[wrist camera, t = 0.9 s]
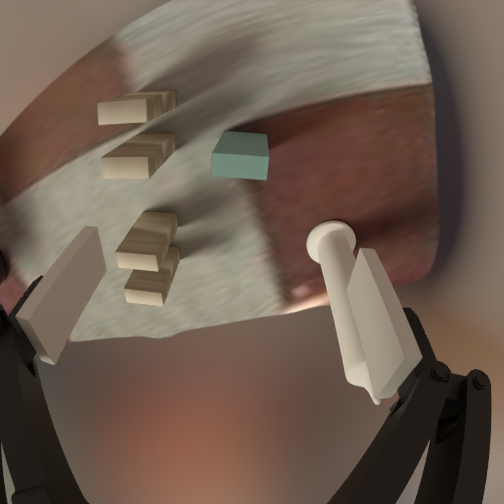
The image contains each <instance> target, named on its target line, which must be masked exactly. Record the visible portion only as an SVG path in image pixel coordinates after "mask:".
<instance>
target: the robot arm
mask: <svg viewBox="0 0 504 504" xmlns="http://www.w3.org/2000/svg"><path fill="white" fill-rule="evenodd" d="M106 271H107V268H106V264H105V260H104V255H103V251H102V246H101V242H100V237H99V232H98V227H91V226H85V227H84V228H83V229H82V231H81V232H80V233H79V234H78V235H77V236H76V237H75V239H74V240H73V241H72V242H71V243H70V244H69V246H68V247H67V248H66V249H65V250H64V252H63V253H62V254H61V255H60V257H59V258H58V259H57V260H56V261H55V263H54V264H53V265H52V266H51V268H50V269H49V270H48V272H47V273H46V274H45V275H44V276H40V277H39V278H37V279H36V280H35V281H33V282H32V284H31V285H30V286H29V288H28V289H27V291H26V292H25V293H24V295H23V297H21V299H20V300H19V301H18V303H17V304H16V306H15V307H14V309H13V310H12V311H11V313H10V314H9V316H8V315H7V313H6V312H5V310H4V308H3V306H2V305H1V304H0V504H7V498H6V491H5V484H4V477H3V468H2V454H1V442H2V446H3V450H4V454H5V458H6V461H7V465H8V468H9V471H10V474H11V477H12V481H13V483H14V487H15V493H14V494H13V495H12V497H11V501H12V504H89V503H88V502H87V501H86V499H85V498H84V496H83V494H82V492H81V490H80V489H79V486H78V484H77V482H76V480H75V478H74V476H73V474H72V471H71V469H70V467H69V464H68V462H67V460H66V457H65V455H64V452H63V450H62V447H61V445H60V442H59V439H58V437H57V434H56V431H55V428H54V425H53V422H52V419H51V416H50V413H49V410H48V407H47V403H46V400H45V396H44V393H43V389H42V385H41V382H40V377H39V373H38V369H37V364H36V362H35V360H34V356H35V354H36V353H37V354H38V356H39V357H40V359H41V360H42V361H44V362H47V363H50V364H53V365H55V363H56V361H57V359H58V357H59V355H60V353H61V351H62V349H63V347H64V345H65V343H66V342H67V340H68V338H69V336H70V334H71V332H72V330H73V328H74V326H75V324H76V323H77V321H78V319H79V317H80V315H81V313H82V312H83V310H84V308H85V306H86V305H87V303H88V301H89V299H90V298H91V296H92V294H93V293H94V291H95V289H96V287H97V286H98V284H99V282H100V281H101V279H102V277H103V276H104V274H105V273H106ZM5 278H6V266H5V262H4V259H3V257H2V255H1V253H0V285H1V283H2V282H3V281H4V280H5ZM346 292H347V295H348V299H349V302H350V305H351V309H352V312H353V316H354V319H355V323H356V326H357V330H358V334H359V337H360V341H361V345H362V349H363V353H364V357H365V361H366V365H367V369H368V373H369V377H370V381H371V385H372V390H373V394H374V399H382V398H391V397H392V396H393V395H394V393H395V392H396V391H397V390H398V394H399V399H398V400H397V401H396V402H395V404H394V405H393V406H392V407H391V408H390V409H389V411H391V412H390V413H389V415H388V417H387V419H386V421H385V422H384V424H383V425H382V427H381V429H380V430H379V432H378V434H377V435H376V437H375V438H374V440H373V441H372V443H371V445H370V446H369V448H368V449H367V451H366V452H365V454H364V455H363V457H362V458H361V460H360V461H359V462H358V464H357V465H356V467H355V468H354V469H353V471H352V472H351V474H350V475H349V476H348V478H347V479H346V480H345V481H344V483H343V484H342V485H341V487H340V488H339V489H338V491H337V492H336V493H335V494H334V496H333V497H332V498H331V499H330V500H329V502H328V503H327V504H395V503H396V502H397V500H398V499H399V497H400V495H401V493H402V492H403V490H404V489H405V487H406V485H407V483H408V481H409V480H410V478H411V476H412V474H413V472H414V470H415V468H416V466H417V465H418V463H419V461H420V459H421V457H422V455H423V453H424V450H425V448H426V446H427V444H428V442H429V440H430V443H429V448H428V453H427V458H426V463H425V466H424V470H423V474H422V478H421V482H420V486H419V489H418V493H417V496H416V499H415V502H414V504H482V501H483V495H484V490H485V483H486V477H487V469H488V460H489V451H490V437H491V383H490V380H489V378H488V376H487V375H486V374H485V373H484V372H482V371H481V370H477V369H474V370H471V371H470V372H469V374H468V375H467V376H462V375H457V374H453V373H451V371H450V369H449V368H448V367H447V366H446V365H445V364H444V363H442V362H440V361H437V360H436V357H435V355H434V352H433V350H432V348H431V345H430V343H429V340H428V338H427V336H426V334H425V331H424V329H423V327H422V325H421V322H420V320H419V318H418V316H417V315H416V314H415V313H414V311H412V309H411V308H402V306H401V304H400V302H399V300H398V298H397V295H396V293H395V291H394V289H393V287H392V285H391V282H390V280H389V278H388V276H387V274H386V272H385V270H384V268H383V266H382V264H381V262H380V260H379V258H378V256H377V254H376V252H375V250H374V249H367V248H360V250H359V253H358V257H357V260H356V263H355V266H354V269H353V272H352V275H351V278H350V281H349V284H348V287H347V290H346ZM430 437H431V438H430Z"/></svg>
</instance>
